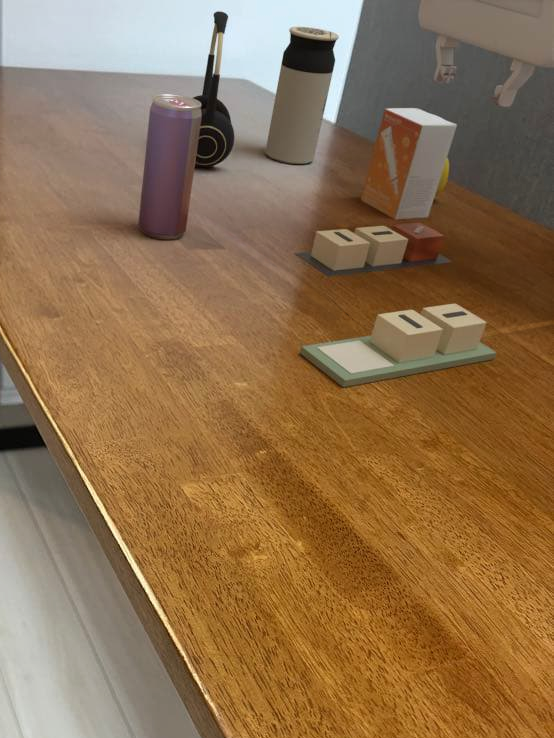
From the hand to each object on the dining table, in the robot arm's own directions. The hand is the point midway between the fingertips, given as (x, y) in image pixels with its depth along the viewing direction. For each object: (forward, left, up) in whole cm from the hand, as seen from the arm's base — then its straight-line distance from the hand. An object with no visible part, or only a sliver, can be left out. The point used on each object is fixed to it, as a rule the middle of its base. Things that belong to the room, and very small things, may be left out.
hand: (470, 93), depth 97 cm
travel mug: (-9, -41, -20) cm, 47 cm away
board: (+7, 0, -19) cm, 21 cm away
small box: (-9, -15, -20) cm, 26 cm away
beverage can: (+29, -15, -20) cm, 38 cm away
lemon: (-17, -18, -20) cm, 32 cm away
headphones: (+8, -41, -20) cm, 46 cm away
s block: (+1, 0, -19) cm, 19 cm away
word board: (+21, +21, -19) cm, 35 cm away
